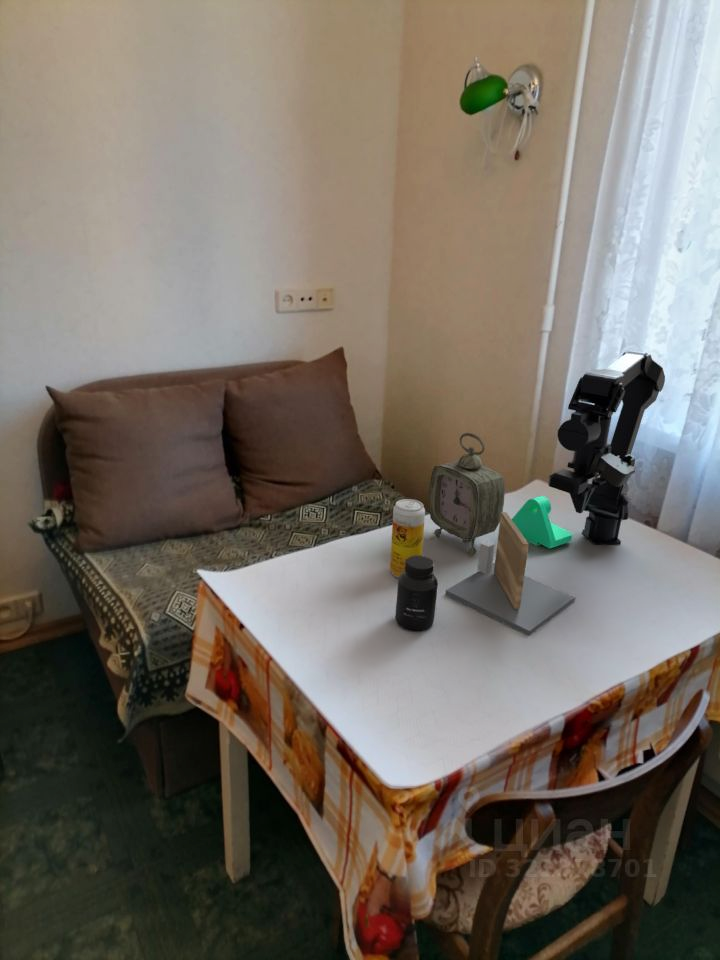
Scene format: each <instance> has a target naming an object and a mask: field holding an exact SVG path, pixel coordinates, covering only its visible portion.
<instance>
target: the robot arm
mask: <svg viewBox="0 0 720 960" xmlns="http://www.w3.org/2000/svg"><path fill="white" fill-rule="evenodd" d="M664 372H665V371H664V369H663V366H661V365H660V364H658V362H656V361H655V360H653V358H652V354H650V353H648V352H643V351H638V350H631V349H629V350H625V351H624V352H623V354H622V355H621V356H620V357H619V358H618V359H617V360H615V361H614V362H612V363H611V364H610V365H609V366H607V367H606V368H603V369H591V370H589V371H586V372H585V373H584V374H583V375H582V376H581V377H580V378H579V380H578V382H577V385H576V387H575V389H574V391H573V394H572V396H571V399H570V402H569V404H568V406H567V410H570V411H574V412H572V413H571V415H570V419H568V420H566V421H564V422H562V424H561V425H560V426H559V428H558V430H557V439H558V442H559V444H560V445H561V446H562V448H564V449H566V450H567V451H570V452H573V454H572V455H573V456H572V460H570V461H568V462H567V468H568V469H573V471H571V470H568V469H565V468H562V469H560V470H558V471H556V472H553V473H552V474H550V475H548V483H547V484H548V485H547V486H548V487H550V488H553V489H555V490H558V491H562V492H564V493H568V494H569V496H570V499H571V501H572V504H573V505H572V506H573V508H574V511H575V512H576V513H577V514H582V513H583V512H584V511H585V512H588V516H586V518H585V522H584V529H582V533H583V534H584V535H585V537H586V538H587V539H588V540H589V541H590V542H591V544H594V545H619V544H620V545H621V543H622V541H621V540H620V539H619V534H620V529H621V523H622V521H627V520H629V516H630V510H631V504H630V503H631V502H630V500H629V496H628V492H629V485H628V481H629V479H630V478H631V476H632V475H633V474H635V473H636V470H635V469H636V466H635V465H636V458H635V456H633V455H632V453H633V452H632V451H633V448H634V446H635V442H636V440H637V436H638V432H639V429H640V426H641V423H642V419H643V416H644V413H645V411H646V409H648V408H649V407H650V406H651V405H653V403H655V402H656V401H657V399H658V396H659V393H660V392H662V390H663V389H664V386H665V382H666V376H665V373H664ZM621 402H622V405H621ZM620 405H621V409H620V413H619V416H618V419H617V423H616V425H615V428H614V432H613V434H612V435H613V436H612V438H611V442H610V443H608V439H609V433H610V428H611V422H612V416H613V414H614V413H615V414H616V413H617V411H618V409H619V407H620Z"/></svg>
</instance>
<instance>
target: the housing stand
mask: <svg viewBox="0 0 720 960" xmlns="http://www.w3.org/2000/svg"><path fill="white" fill-rule="evenodd" d="M495 546H496V544H495V542H492V541H489V540H484V541H482V542H480V546H479V554H478V556H479V557H478V564H477V571H476V572H475V573H473V574H471V575H469V576H468V577H466V578H465V579H463V580H461V581H459V582H457V583H456V584H454V585H452V586H451V587H449V588H447V589H445V596H447V597H449V598H451V599H453V600H455V601H457V602H459V603H462V604H463V605H465V606H467V607H470V609H471V608H472V609H474V610H475V611H477V612H479V613H481V614H483V615H486V616H487V617H490V618H492V619H494V620H495V621H498V622H500V623H502V624H504V625H506V626H508V627H510V628H512V629H514V630H516V631H518V632H520V633H522V634H524V635H526V636H528V637H530V636H531V635H532V634H533V633H535V632H536V631H537V630H539V629H540V628H541V627H543V626H544V625H545V624H547V623H548V622H550V621H551V620H552V619H554V618H555V617H556V616H558V614H561V613H562V611H564V610H565V609H567V608H568V607H570V606H571V605H572V604H574V603H575V600H576V597H575V596H573V595H571V594H568V593H567V592H564V591H562V590H560V589H557V588H555V587H552V586H549V585H548V584H545V583H542V582H541V581H538V580H535V579H533V578H532V577H529V576H527V575H524V582H523V589H522V596H521V604H520V609H514V607H513V605H512V604H511V602H510V600H509V598H508V596H507V595H506V593H505V591H504V589H503V587H502V586H501V584H500V582H499V580H498V578H497V577H496V575H495V573H494V567H495V562H493V561H494V554H495Z"/></svg>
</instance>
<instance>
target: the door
mask: <svg viewBox="0 0 720 960" xmlns="http://www.w3.org/2000/svg"><path fill="white" fill-rule="evenodd" d="M498 526H499V527H498V534H497V542H496V543H497V544H496V552H495V559H494V563H495V567H494V573H495V575H496V577H497V578H498V580H499V582H500V584H501V586H502V587H503V589H504V591H505V593H506V595H507V596H508V598H509V600H510V602H511V604H512V605H513V607H514V609H520V604H521V596H522V589H523V582H524V576H526V575H525V574H526V567H527V560H528V554H529V546H530V545H529V544H530V542H529V541H527V540H526V539H525V538H524V536H523V535H522V534H521V532H520V531H519V529H518V528H517V527H516V525H515V524H514V522H513V521H512V518H511V517H510V515H509V514H508V512H506V511H502V512H501V517H500V523H499V525H498Z"/></svg>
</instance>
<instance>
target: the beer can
mask: <svg viewBox="0 0 720 960" xmlns="http://www.w3.org/2000/svg"><path fill="white" fill-rule="evenodd" d="M423 503H424V502H423ZM423 503H422V502H421V501H419V500H417V499H414V498H413V499H412V498H405V499H400V500H398V501H396V502H395V505H394V506H393V508H392V509H393V511H392V512H393V513H392V526H391V530H392V531H391V543H390V544H391V545H390V561H389V562H390V564H389V570H390V572H391V573H392V575H393V576H394V577H395V578H396V579H399V576H400V575H401V573H402V572H404V571H405V564H406V560H407V558H409V557H411V556H423V543H424V531H425V520H426V519H425V518H426V517H425V515H426V509H425V507H424V504H423Z"/></svg>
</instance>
